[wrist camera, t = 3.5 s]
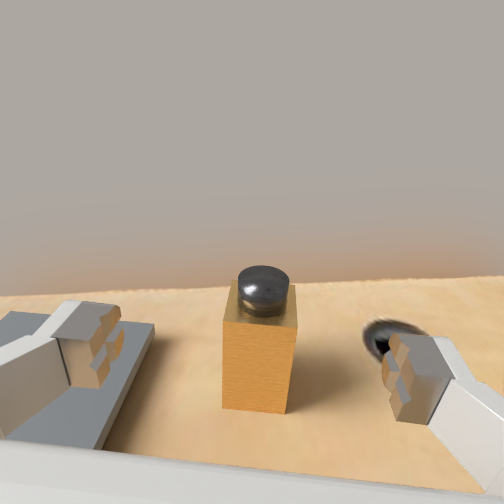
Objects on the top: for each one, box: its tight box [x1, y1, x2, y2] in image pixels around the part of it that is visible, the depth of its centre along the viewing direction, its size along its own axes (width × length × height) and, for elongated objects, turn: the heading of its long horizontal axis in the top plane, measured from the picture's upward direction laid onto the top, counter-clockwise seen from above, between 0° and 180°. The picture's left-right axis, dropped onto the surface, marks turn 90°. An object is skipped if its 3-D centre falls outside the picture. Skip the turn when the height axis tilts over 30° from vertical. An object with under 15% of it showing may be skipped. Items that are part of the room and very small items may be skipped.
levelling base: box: [0, 311, 155, 450], centre depth 26 cm, size 14×16×2 cm
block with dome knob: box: [222, 266, 298, 414], centre depth 27 cm, size 5×5×11 cm
